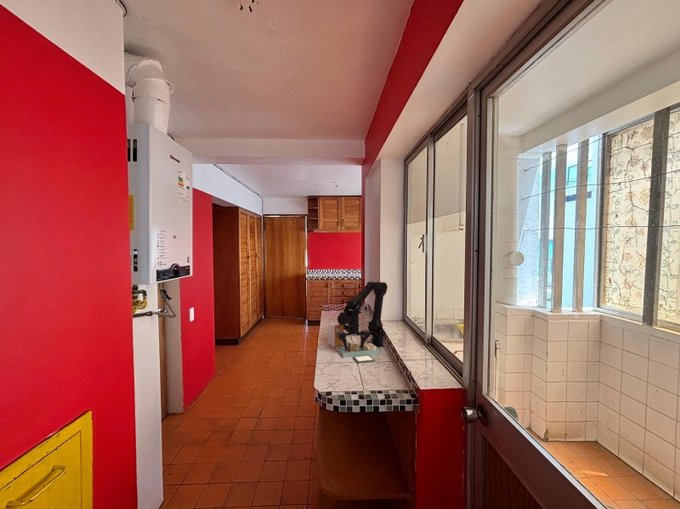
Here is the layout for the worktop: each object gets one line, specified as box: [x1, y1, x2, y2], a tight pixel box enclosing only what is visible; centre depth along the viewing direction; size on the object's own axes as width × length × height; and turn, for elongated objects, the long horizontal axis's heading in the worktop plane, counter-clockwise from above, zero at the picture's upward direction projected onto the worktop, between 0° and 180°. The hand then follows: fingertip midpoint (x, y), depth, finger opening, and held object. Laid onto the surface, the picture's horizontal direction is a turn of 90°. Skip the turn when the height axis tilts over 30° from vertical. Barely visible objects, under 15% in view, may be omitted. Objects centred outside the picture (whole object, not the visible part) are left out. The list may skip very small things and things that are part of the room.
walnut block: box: [347, 341, 360, 352], centre depth 176 cm, size 5×5×6 cm
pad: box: [352, 355, 376, 364], centre depth 165 cm, size 10×8×1 cm
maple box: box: [362, 342, 377, 351], centre depth 179 cm, size 5×7×4 cm
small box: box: [327, 321, 345, 347], centre depth 193 cm, size 8×6×13 cm
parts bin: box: [337, 344, 380, 358], centre depth 177 cm, size 22×11×2 cm, turn 106°
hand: (353, 349), depth 176 cm, fingers open, 9 cm apart
